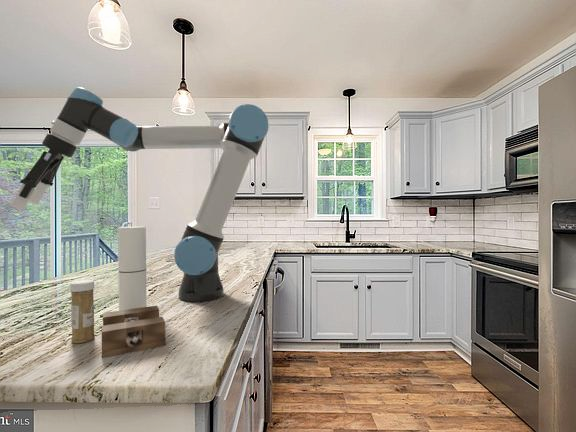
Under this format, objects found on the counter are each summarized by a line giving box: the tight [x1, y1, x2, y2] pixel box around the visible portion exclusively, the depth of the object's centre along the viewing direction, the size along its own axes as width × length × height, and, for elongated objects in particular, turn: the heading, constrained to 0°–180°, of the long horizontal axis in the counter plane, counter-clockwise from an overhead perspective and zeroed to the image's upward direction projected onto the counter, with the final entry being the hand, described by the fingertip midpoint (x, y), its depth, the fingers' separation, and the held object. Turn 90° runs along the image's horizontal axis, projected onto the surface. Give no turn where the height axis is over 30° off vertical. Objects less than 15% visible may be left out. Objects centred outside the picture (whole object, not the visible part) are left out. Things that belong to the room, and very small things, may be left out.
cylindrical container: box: [117, 226, 148, 318], centre depth 90 cm, size 7×7×25 cm
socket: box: [101, 305, 166, 358], centre depth 72 cm, size 12×15×5 cm
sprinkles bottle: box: [69, 279, 95, 344], centre depth 72 cm, size 5×5×14 cm
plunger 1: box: [126, 317, 138, 322], centre depth 77 cm, size 2×6×2 cm, turn 29°
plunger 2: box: [128, 331, 140, 343], centre depth 68 cm, size 2×6×2 cm, turn 29°
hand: (25, 205), depth 88 cm, fingers open, 13 cm apart
